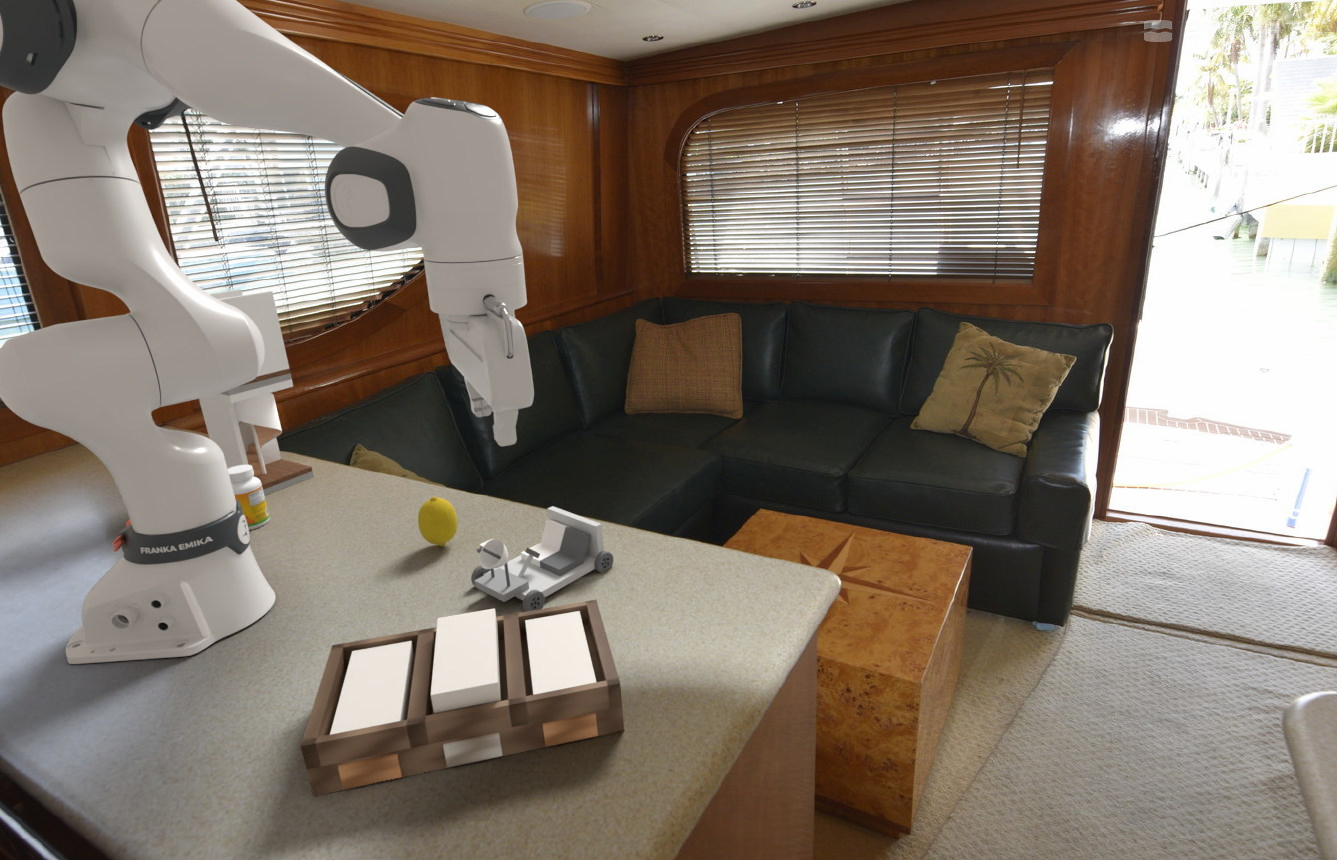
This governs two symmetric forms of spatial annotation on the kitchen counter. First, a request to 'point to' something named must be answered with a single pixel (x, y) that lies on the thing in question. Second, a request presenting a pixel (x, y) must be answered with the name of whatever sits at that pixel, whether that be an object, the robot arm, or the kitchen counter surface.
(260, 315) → the white tiered stand
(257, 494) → the supplement bottle
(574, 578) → the toy car
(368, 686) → the switch
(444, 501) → the lemon
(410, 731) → the brown boxy piece
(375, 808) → the kitchen counter surface
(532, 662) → the switch
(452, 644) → the switch
